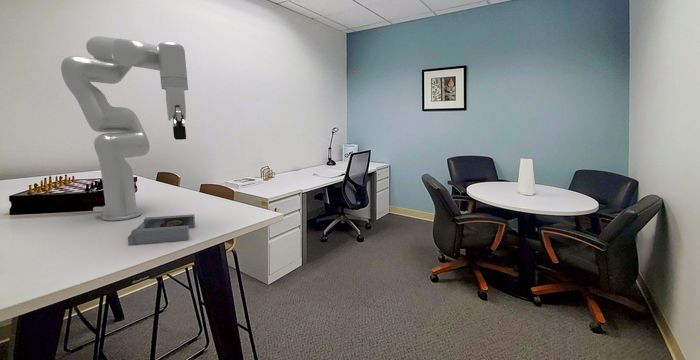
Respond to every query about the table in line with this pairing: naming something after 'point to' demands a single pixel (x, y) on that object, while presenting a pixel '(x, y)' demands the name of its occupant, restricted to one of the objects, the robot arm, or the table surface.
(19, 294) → the table surface
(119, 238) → the table surface
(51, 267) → the table surface
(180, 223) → the tape measure
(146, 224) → the c-clamp
